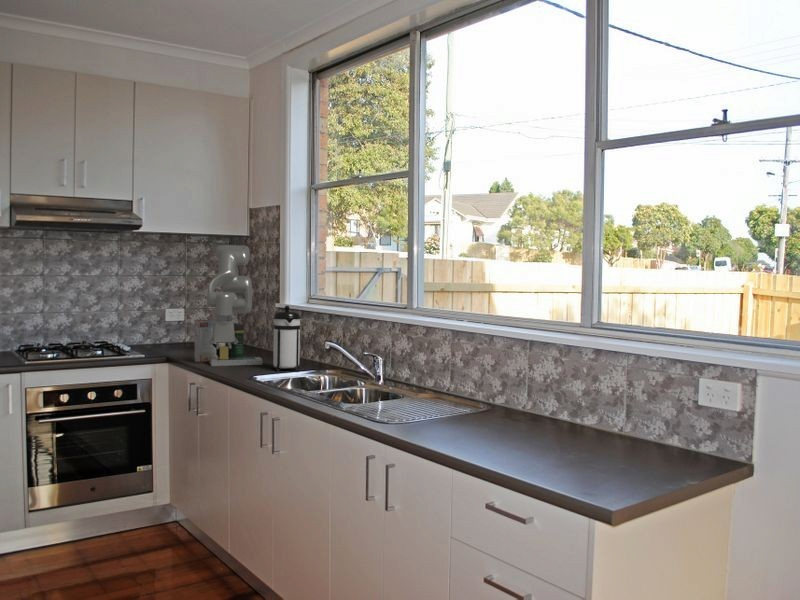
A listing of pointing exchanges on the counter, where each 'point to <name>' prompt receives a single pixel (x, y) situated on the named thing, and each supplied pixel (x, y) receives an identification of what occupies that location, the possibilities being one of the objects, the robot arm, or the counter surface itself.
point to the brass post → (223, 352)
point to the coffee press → (286, 339)
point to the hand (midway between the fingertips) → (223, 356)
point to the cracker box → (204, 340)
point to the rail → (236, 361)
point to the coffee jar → (238, 348)
